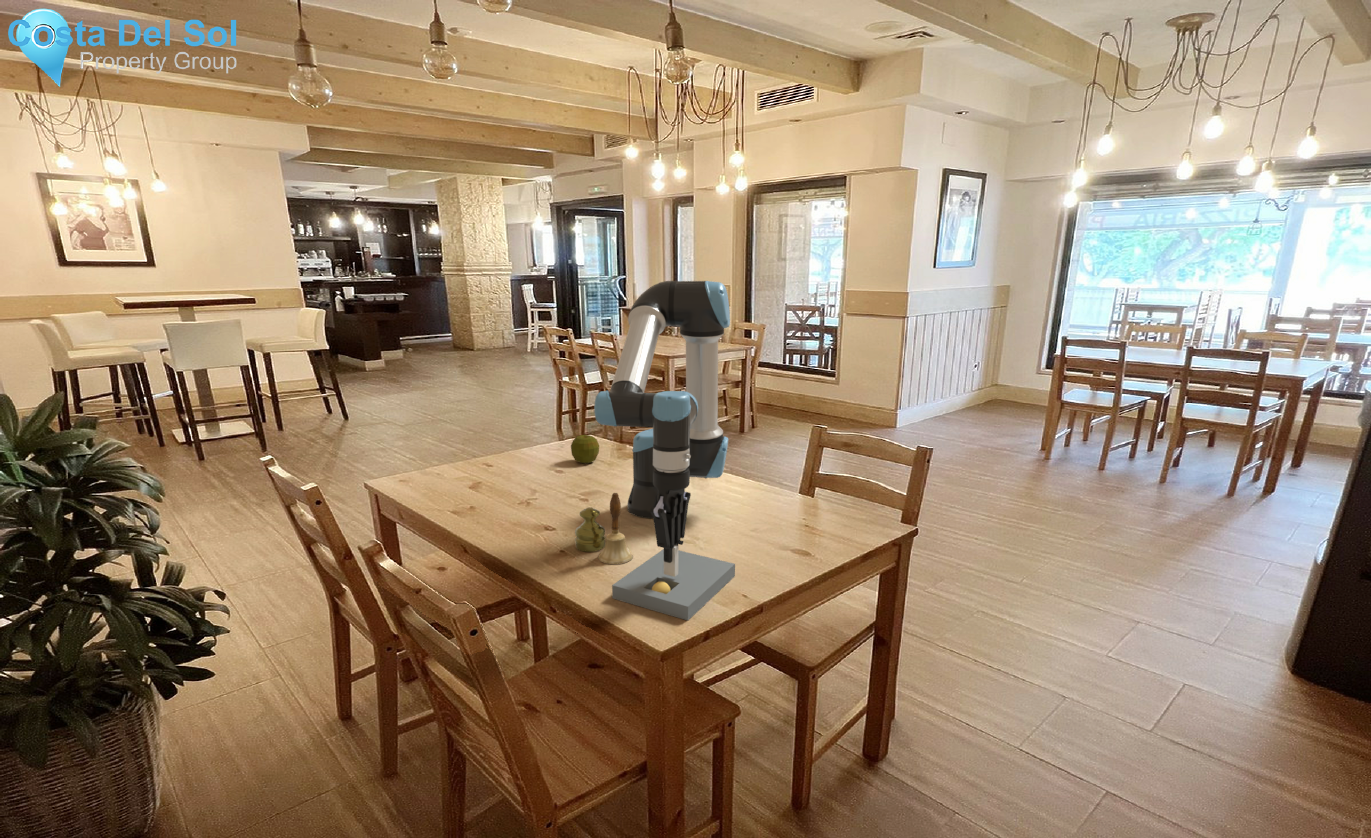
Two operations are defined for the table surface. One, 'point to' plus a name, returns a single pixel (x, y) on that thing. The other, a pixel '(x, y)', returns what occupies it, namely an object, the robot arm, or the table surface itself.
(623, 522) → the table surface
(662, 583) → the ball
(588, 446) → the apple
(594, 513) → the olive green tall piece
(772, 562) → the table surface
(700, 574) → the board
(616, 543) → the hand bell
